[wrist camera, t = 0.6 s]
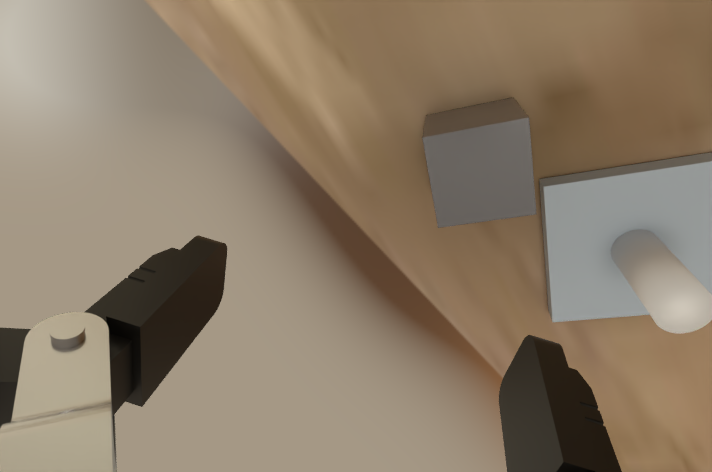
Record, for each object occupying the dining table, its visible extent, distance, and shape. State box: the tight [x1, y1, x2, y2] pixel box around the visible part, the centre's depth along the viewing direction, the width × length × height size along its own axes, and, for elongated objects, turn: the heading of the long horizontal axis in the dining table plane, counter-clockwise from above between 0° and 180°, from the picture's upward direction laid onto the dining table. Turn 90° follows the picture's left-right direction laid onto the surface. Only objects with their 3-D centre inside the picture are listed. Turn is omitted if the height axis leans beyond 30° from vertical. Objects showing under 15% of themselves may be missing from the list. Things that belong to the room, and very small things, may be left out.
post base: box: [539, 152, 712, 333], centre depth 28 cm, size 11×11×8 cm
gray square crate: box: [422, 98, 536, 228], centre depth 28 cm, size 6×6×6 cm
